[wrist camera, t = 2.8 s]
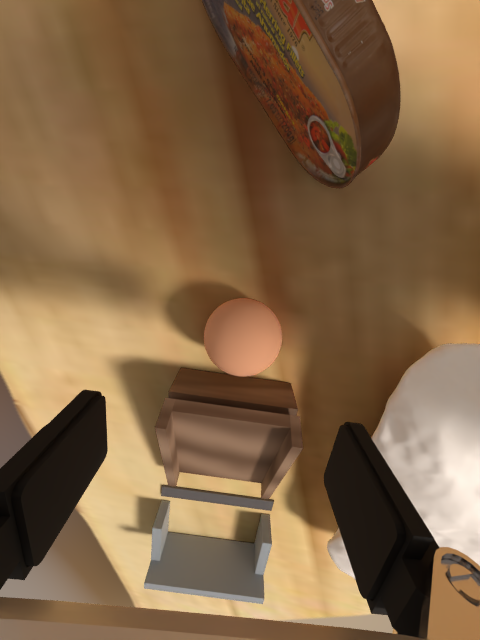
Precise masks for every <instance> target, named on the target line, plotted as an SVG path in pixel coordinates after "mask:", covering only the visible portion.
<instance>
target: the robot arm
mask: <svg viewBox="0 0 480 640" xmlns="http://www.w3.org/2000/svg"><path fill="white" fill-rule="evenodd" d="M106 454H107V426H106V401H105V397H104V396H102V395H101V392H99V391H90V390H83V391H82V392H80V393H79V394H78V395H77V396H76V397H75V398H74V399H73V400H72V401H71V402H70V403H69V404H68V405H67V406H66V407H65V408H64V409H63V410H62V411H61V412H60V413H59V414H58V415H57V416H56V417H55V418H54V419H53V420H52V421H51V422H50V423H49V424H47V425H46V426H44V427H43V428H42V429H41V430H40V431H39V432H38V433H37V434H36V435H35V436H34V437H33V438H32V439H31V440H30V441H29V442H27V443H26V444H25V445H24V446H23V447H22V448H21V449H20V450H19V451H18V452H17V453H16V454H15V455H14V456H13V457H12V458H11V459H10V460H9V461H8V462H7V463H6V464H5V465H4V466H3V467H2V468H1V469H0V589H1V588H2V586H3V585H4V583H5V582H6V580H7V579H20V580H25V578H26V577H27V575H28V574H29V572H30V570H31V569H32V567H33V566H37V565H39V564H40V563H41V561H42V560H43V558H44V557H45V555H46V553H47V552H48V550H49V549H50V547H51V546H52V544H53V542H54V541H55V539H56V537H57V536H58V534H59V533H60V531H61V529H62V528H63V526H64V524H65V523H66V521H67V520H68V518H69V516H70V515H71V513H72V511H73V510H74V508H75V507H76V505H77V503H78V502H79V500H80V498H81V497H82V495H83V494H84V492H85V490H86V489H87V487H88V485H89V484H90V482H91V481H92V479H93V477H94V476H95V474H96V472H97V471H98V469H99V468H100V466H101V464H102V463H103V461H104V459H105V457H106ZM324 484H325V487H326V490H327V494H328V497H329V500H330V503H331V506H332V509H333V512H334V515H335V518H336V521H337V524H338V527H339V530H340V533H341V536H342V539H343V543H344V546H345V549H346V552H347V555H348V558H349V561H350V564H351V567H352V570H353V573H354V576H355V579H356V582H357V585H358V588H359V591H360V594H361V595H362V597H363V598H365V599H367V602H368V605H369V608H370V611H371V613H372V614H382V615H388V617H389V619H390V622H391V625H392V627H393V633H384V632H376V631H368V630H359V629H351V628H343V627H333V626H322V625H312V624H303V623H293V622H283V621H273V620H263V619H253V618H242V617H232V616H221V615H211V614H200V613H189V612H179V611H168V610H157V609H146V608H135V607H123V606H111V605H100V604H89V603H77V602H66V601H53V600H37V599H22V598H6V597H0V640H480V566H479V565H478V564H477V563H476V562H475V561H473V560H472V559H471V558H469V557H468V556H467V555H465V554H463V553H461V552H460V551H458V550H456V549H453V548H449V547H439V546H438V544H437V543H436V541H435V539H434V537H433V536H432V534H431V532H430V531H429V529H428V528H427V526H426V524H425V523H424V521H423V520H422V518H421V517H420V515H419V513H418V512H417V510H416V509H415V507H414V505H413V504H412V502H411V501H410V499H409V497H408V496H407V494H406V493H405V491H404V490H403V488H402V486H401V485H400V483H399V482H398V480H397V478H396V477H395V475H394V474H393V472H392V470H391V469H390V467H389V466H388V464H387V463H386V461H385V459H384V458H383V456H382V455H381V453H380V451H379V450H378V448H377V447H376V445H375V443H374V442H373V440H372V439H371V437H370V436H369V434H368V432H367V431H366V429H365V428H364V426H363V425H362V424H360V423H352V422H346V423H345V424H344V425H341V426H340V428H339V431H338V434H337V437H336V440H335V443H334V446H333V449H332V452H331V455H330V458H329V461H328V464H327V467H326V470H325V473H324Z"/></svg>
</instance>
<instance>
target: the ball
mask: <svg viewBox="0 0 480 640" xmlns="http://www.w3.org/2000/svg"><path fill="white" fill-rule="evenodd" d="M204 344H205V348H206V351H207V354H208V356H209V357H210V359H211V360H212V362H213V363H214V364H215V365H216V366H217V367H218V368H219V369H221V370H222V371H224V372H226V373H228V374H231V375H234V376H242V377H243V376H252V375H256V374H258V373H260V372H262V371H264V370H265V369H267V368H268V367H269V366H270V365H271V364H272V363H273V362H274V361H275V359H276V357H277V356H278V354H279V352H280V349H281V344H282V331H281V326H280V323H279V321H278V319H277V317H276V316H275V314H274V313H273V312H272V310H271V309H270V308H268V307H267V306H266V305H264V304H263V303H261V302H259V301H257V300H254V299H249V298H237V299H233V300H229V301H227V302H225V303H223V304H222V305H220V306H219V307H218V308H216V309H215V310H214V312H213V313H212V314H211V316H210V317H209V319H208V321H207V323H206V326H205V331H204Z"/></svg>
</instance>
